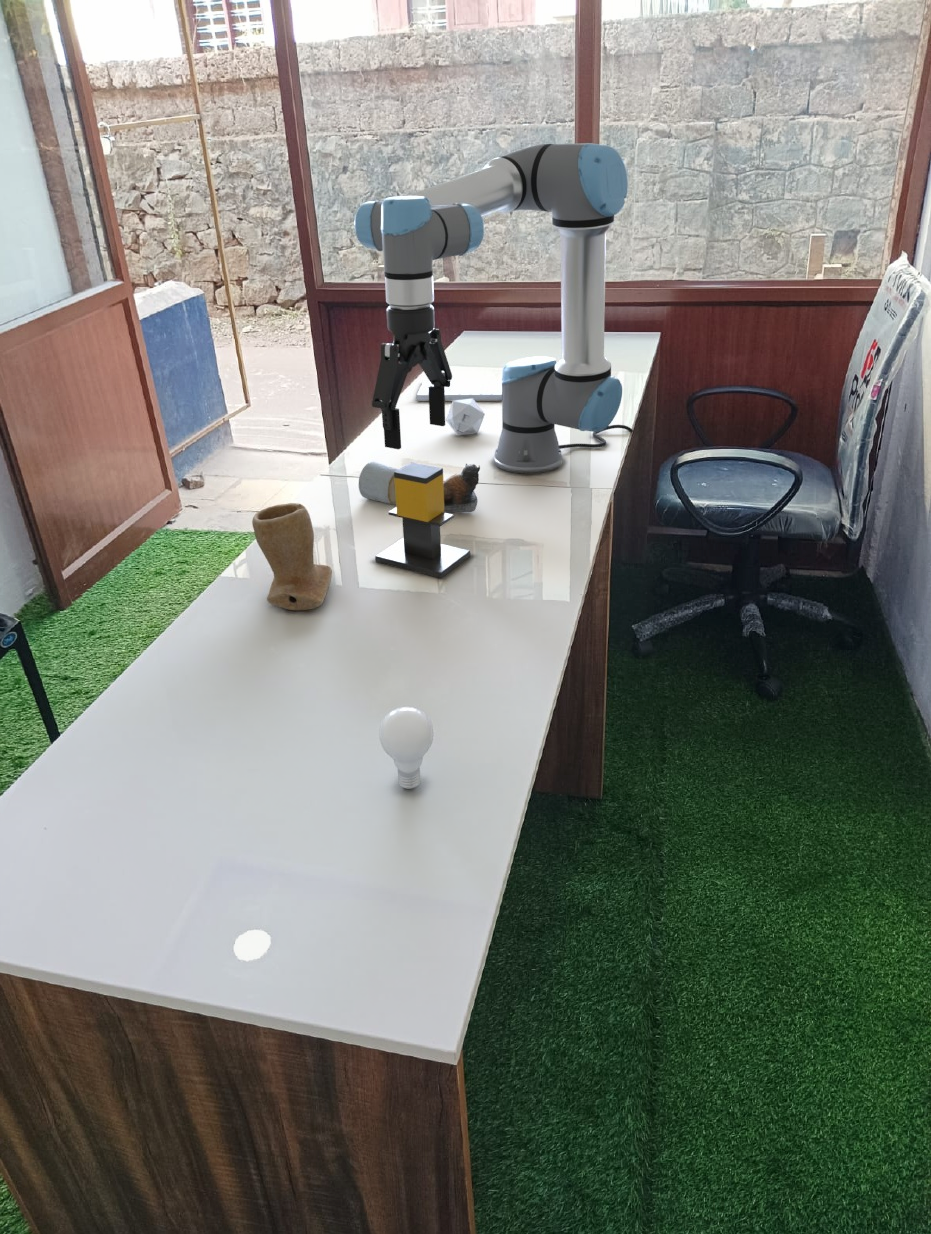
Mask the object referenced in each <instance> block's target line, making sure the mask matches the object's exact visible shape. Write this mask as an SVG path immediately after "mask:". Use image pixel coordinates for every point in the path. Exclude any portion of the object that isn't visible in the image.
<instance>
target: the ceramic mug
mask: <svg viewBox="0 0 931 1234" xmlns="http://www.w3.org/2000/svg"><path fill="white" fill-rule="evenodd" d="M397 470H399V469H398V468H396V467H391V466H388V465H386V464H382V463H379V462H376V461H370V462H368V463H367V464H365V465H364V466H363V467H362V469H361V471H360V473H359V477H358V491H359V493H360V495H361V496H362V498H364V499H367V500H372V501H376V502H380V503H385V504H388V505H396V493H395V478H394V472H395V471H397Z"/></svg>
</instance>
